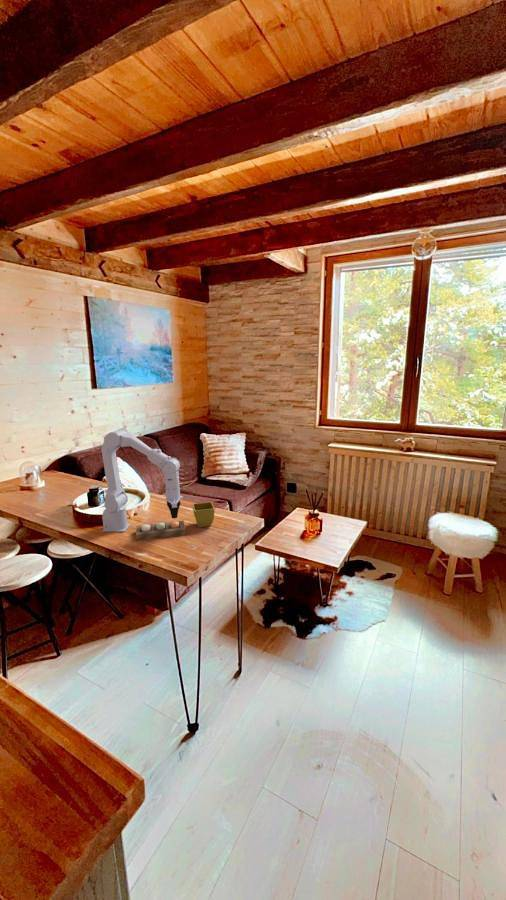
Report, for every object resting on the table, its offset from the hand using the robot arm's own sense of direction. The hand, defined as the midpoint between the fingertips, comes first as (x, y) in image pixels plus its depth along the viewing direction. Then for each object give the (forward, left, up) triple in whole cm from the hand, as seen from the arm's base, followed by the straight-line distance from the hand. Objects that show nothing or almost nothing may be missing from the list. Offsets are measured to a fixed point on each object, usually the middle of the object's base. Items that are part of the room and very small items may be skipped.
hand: (174, 517), depth 161 cm
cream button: (-12, -4, -5) cm, 13 cm away
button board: (-6, -2, -6) cm, 9 cm away
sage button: (-6, -2, -5) cm, 8 cm away
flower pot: (+11, +7, -7) cm, 15 cm away
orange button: (0, 0, -5) cm, 5 cm away
